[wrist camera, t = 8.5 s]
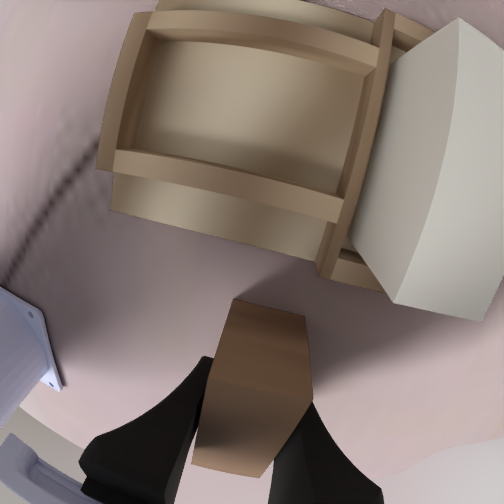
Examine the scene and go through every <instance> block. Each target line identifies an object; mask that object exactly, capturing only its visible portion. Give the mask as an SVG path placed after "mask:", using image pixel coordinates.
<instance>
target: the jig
mask: <svg viewBox="0 0 504 504" xmlns="http://www.w3.org/2000/svg"><path fill="white" fill-rule="evenodd" d="M434 33H435V32H434V31H432V30H430V29H428V28H426V27H424V26H422V25H420V24H418V23H416V22H414V21H412V20H410V19H408V18H406V17H404V16H402V15H400V14H397V13H395V12H393V11H390V10H388V9H386V8H385V9H384V10H383V12H382V13H381V14H380V16H379V17H378V18H377V19H376V21H375V22H371V21H369V20H366V19H363V18H360V17H357V16H354V15H351V14H348V13H345V12H342V11H339V10H335V9H332V8H328V7H325V6H321V5H317V4H313V3H309V2H304V1H300V0H159V2H158V5H157V7H156V10H155V11H153V12H140V13H134V15H133V18H132V20H131V23H130V26H129V28H128V31H127V34H126V37H125V40H124V43H123V46H122V49H121V52H120V55H119V58H118V62H117V65H116V68H115V72H114V76H113V79H112V83H111V87H110V91H109V95H108V100H107V104H106V109H105V113H104V118H103V123H102V129H101V134H100V140H99V147H98V154H97V161H96V169H99V170H105V171H111V172H114V177H113V186H112V195H111V206H110V210H111V211H115V212H119V213H123V214H127V215H131V216H135V217H140V218H144V219H148V220H152V221H156V222H160V223H164V224H168V225H172V226H176V227H180V228H184V229H188V230H192V231H196V232H200V233H204V234H208V235H212V236H216V237H220V238H224V239H228V240H232V241H236V242H240V243H244V244H248V245H252V246H256V247H260V248H263V249H267V250H271V251H275V252H279V253H283V254H287V255H291V256H295V257H299V258H303V259H307V260H310V261H314V262H315V265H316V268H317V272H318V275H319V277H321V278H325V279H329V280H333V281H337V282H342V283H346V284H350V285H354V286H358V287H362V288H366V289H370V290H374V291H378V292H382V293H386V291H385V290H384V288H383V287H382V285H381V284H380V283H379V281H378V280H377V278H376V277H375V275H374V274H373V272H372V271H371V269H370V268H369V267H368V265H367V264H366V262H365V261H364V260H363V258H362V257H361V255H360V254H359V253H358V251H357V250H356V248H355V247H354V246H353V244H352V243H351V242H350V240H349V239H348V238H347V234H348V231H349V228H350V225H351V222H352V218H353V215H354V212H355V209H356V206H357V202H358V199H359V196H360V192H361V189H362V185H363V182H364V178H365V175H366V171H367V167H368V164H369V160H370V156H371V152H372V148H373V144H374V140H375V136H376V132H377V127H378V123H379V119H380V114H381V109H382V105H383V100H384V95H385V90H386V85H387V79H388V74H389V68H390V64H391V63H393V62H394V61H396V60H397V59H398V58H400V57H401V56H402V55H404V54H405V53H407V52H408V51H409V50H411V49H412V48H414V47H415V46H416V45H418V44H419V43H421V42H422V41H424V40H425V39H426V38H428V37H429V36H431V35H432V34H434ZM386 294H387V293H386Z"/></svg>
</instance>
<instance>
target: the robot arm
mask: <svg viewBox="0 0 504 504" xmlns="http://www.w3.org/2000/svg"><path fill="white" fill-rule="evenodd" d="M213 360H214V358H210V357H207V356H203V357H202V358H201V359H200V361H199V362H198V364H197V365H196V367H195V368H194V369H193V370H192V372H191V373H190V374H189V375H188V376H187V377H186V379H185V380H184V381H183V382H182V383H181V384H180V385H179V386H178V387H177V388H176V389H175V390H174V391H173V392H172V393H170V394H169V395H168V396H167V397H166V398H165V399H164V400H162V401H161V402H160V403H159V404H157V405H156V406H155V407H153V408H152V409H150V410H149V411H147V412H146V413H144V414H143V415H141V416H140V417H138V418H136V419H135V420H133V421H131V422H129V423H127V424H125V425H123V426H121V427H119V428H117V429H115V430H112V431H110V432H107V433H104V434H102V435H99V436H97V437H95V438H94V439H93V440H92V441H91V442H90V444H89V445H88V446H87V447H86V449H85V450H84V452H83V454H82V456H81V458H80V460H79V461H78V462H79V465H80V467H81V468H82V470H83V471H84V473H85V474H86V476H87V477H86V479H85V481H84V483H83V484H82V483H80V482H78V481H76V480H74V479H73V478H71V477H69V476H68V475H66V474H64V473H62V472H61V471H59V470H57V469H56V468H54V467H53V466H51V465H50V464H48V463H47V462H45V461H43V460H42V459H41V458H39V457H38V455H37V454H36V452H35V451H34V450H33V449H32V448H31V447H29V446H28V445H27V444H25V443H24V442H23V441H22V440H20V439H19V438H17V437H16V436H15V435H14V434H13V433H10V434H9V435H8V437H7V438H6V439H5V441H4V442H3V443H2V445H1V446H0V481H1V482H2V483H4V484H5V485H6V486H7V487H8V488H10V489H11V490H12V491H13V492H14V493H16V494H17V495H18V496H19V497H21V498H22V499H23V500H25V501H26V502H27V503H29V504H174V501H175V497H176V493H177V490H178V486H179V483H180V479H181V476H182V472H183V469H184V465H185V461H186V458H187V454H188V451H189V448H190V446H191V443H192V440H193V438H194V435H195V433H196V430H197V428H198V425H199V420H200V415H201V410H202V405H203V400H204V395H205V390H206V385H207V380H208V376H209V373H210V370H211V367H212V364H213ZM39 381H42V382H44V383H45V384H47V385H48V386H50V387H52V388H53V389H55V390H57V391H59V392H60V391H61V390H62V389H63V387H62V384H61V381H60V378H59V375H58V371H57V368H56V365H55V361H54V358H53V354H52V351H51V347H50V343H49V339H48V335H47V330H46V326H45V321H44V317H43V314H42V312H41V311H40V310H39V309H38V308H36V307H34V306H32V305H30V304H29V303H27V302H25V301H23V300H22V299H20V298H18V297H16V296H15V295H13V294H11V293H10V292H8V291H7V290H5V289H3V288H2V287H0V429H1V427H2V426H3V425H4V424H5V422H6V421H7V420H8V418H9V417H10V416H11V414H12V413H13V412H14V411H15V409H16V408H17V407H18V406H19V405H20V403H21V402H22V401H23V400H24V398H25V397H26V396H27V395H28V394H29V392H30V391H31V390H32V389H33V388H34V387H35V385H36V384H37V383H38V382H39ZM273 467H274V468H273V474H272V482H271V488H270V494H269V500H268V504H384V499H383V493H382V490H381V488H380V487H379V486H377V485H376V484H375V483H373V482H372V481H371V480H370V479H368V478H367V477H366V476H365V475H364V474H363V473H362V472H360V471H359V470H358V469H357V468H356V467H355V466H354V465H353V464H352V462H351V461H350V460H349V459H348V458H347V457H346V456H345V455H344V453H343V452H342V451H341V450H340V448H339V447H338V446H337V444H336V443H335V441H334V440H333V439H332V437H331V435H330V434H329V432H328V431H327V429H326V427H325V425H324V424H323V422H322V420H321V418H320V416H319V414H318V412H317V410H316V408H315V406H314V404H313V402H311V404H310V405H309V407H308V409H307V410H306V412H305V414H304V415H303V417H302V418H301V420H300V421H299V423H298V425H297V426H296V428H295V429H294V431H293V432H292V434H291V435H290V437H289V438H288V440H287V441H286V443H285V444H284V445H283V447H282V448H281V450H280V451H279V453H278V454H277V455H276V457H275V458H274V466H273Z"/></svg>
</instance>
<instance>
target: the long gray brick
mask: <svg viewBox="0 0 504 504" xmlns="http://www.w3.org/2000/svg"><path fill="white" fill-rule="evenodd" d="M347 238H348V239H349V240H350V242H351V243H352V244H353V246H354V247H355V248H356V250H357V251H358V253H359V254H360V255H361V257H362V258H363V260H364V261H365V262H366V264H367V265H368V267H369V268H370V269H371V271H372V272H373V274H374V275H375V277H376V278H377V280H378V281H379V283H380V284H381V285H382V287H383V288H384V290H385V291H386V293H387V294H388V296H389V298H390V299H391V301H392V302H393V303H396V304H400V305H404V306H409V307H413V308H418V309H422V310H427V311H431V312H436V313H440V314H445V315H449V316H454V317H458V318H463V319H468V320H473V321H477V322H481V321H482V320H483V318H484V316H485V314H486V312H487V310H488V308H489V306H490V304H491V302H492V300H493V298H494V296H495V294H496V292H497V290H498V287H499V285H500V283H501V281H502V278H503V276H504V50H503V49H501V48H500V47H499V46H498V45H497V44H495V43H494V42H493V41H492V40H490V39H489V38H488V37H486V36H485V35H484V34H482V33H481V32H480V31H478V30H477V29H475V28H474V27H473V26H471V25H470V24H468V23H467V22H465V21H464V20H462V19H461V18H459V17H458V18H457V19H455V20H453V21H452V22H450V23H449V24H447V25H446V26H444V27H443V28H441V29H440V30H438V31H437V32H435V33H434V34H432V35H431V36H429V37H428V38H426V39H425V40H424V41H422V42H421V43H419V44H418V45H416V46H415V47H414V48H412V49H411V50H409V51H408V52H407V53H405V54H404V55H402V56H401V57H400V58H398V59H397V60H396V61H394V62H393V63H391V64H390V68H389V74H388V79H387V85H386V90H385V95H384V100H383V105H382V109H381V114H380V119H379V123H378V127H377V132H376V136H375V140H374V144H373V148H372V152H371V156H370V160H369V164H368V167H367V171H366V175H365V178H364V182H363V185H362V189H361V192H360V196H359V199H358V202H357V206H356V209H355V212H354V215H353V218H352V222H351V225H350V228H349V231H348V234H347Z"/></svg>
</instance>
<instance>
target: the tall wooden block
mask: <svg viewBox="0 0 504 504" xmlns="http://www.w3.org/2000/svg"><path fill="white" fill-rule="evenodd" d="M312 401H313V389H312V378H311V367H310V357H309V347H308V338H307V329H306V321H305V316H302V315H298V314H293V313H289V312H285V311H280V310H276V309H272V308H268V307H264V306H260V305H255V304H251V303H247V302H244V301H240V300H236V299H233V301H232V304H231V307H230V310H229V314H228V317H227V320H226V323H225V326H224V329H223V332H222V335H221V338H220V342H219V345H218V348H217V351H216V354H215V357H214V360H213V364H212V367H211V370H210V373H209V376H208V380H207V385H206V390H205V395H204V400H203V405H202V410H201V415H200V420H199V425H198V431H197V436H196V441H195V446H194V451H193V457H192V462H191V464H193V465H197V466H201V467H204V468H208V469H213V470H217V471H222V472H226V473H231V474H237V475H243V476H248V477H255V478H260V477H261V475H262V474H263V473H264V472H265V470H266V469H267V468H268V466H269V465H270V464H271V462H272V461H273V460H274V458H275V457H276V455H277V454H278V453H279V451H280V450H281V448H282V447H283V445H284V444H285V443H286V441H287V440H288V438H289V437H290V435H291V434H292V432H293V431H294V429H295V428H296V426H297V425H298V423H299V421H300V420H301V418H302V417H303V415H304V414H305V412H306V410H307V409H308V407H309V405H310V404H311V402H312Z"/></svg>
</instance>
